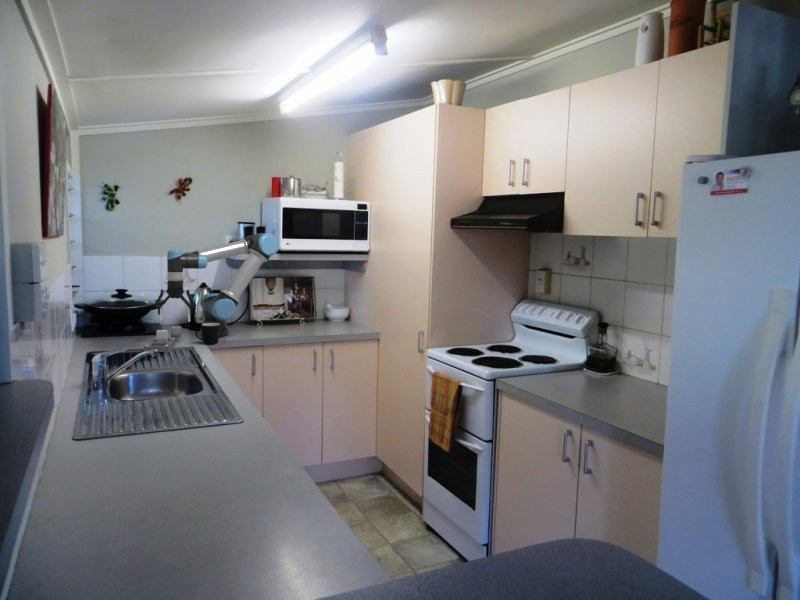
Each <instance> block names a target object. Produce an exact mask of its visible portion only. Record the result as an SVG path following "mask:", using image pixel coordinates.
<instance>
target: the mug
mask: <svg viewBox="0 0 800 600" xmlns="http://www.w3.org/2000/svg"><path fill="white" fill-rule="evenodd" d="M199 330H200V331H201V330H202V335H201V336H202V337H199V336H198V332H199ZM219 332H220V324H218V323H204V324H203V323H202V324H201V326H200V327H198V328H197V329H196V331H195V337H196V338H197V339H199V340H201V341H202V342H203V344H204V345H207V346H208V345H209V346H211V345H213V346H214V345H217V344H218V343H219V338H220V336H219Z"/></svg>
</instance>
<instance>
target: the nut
mask: <svg viewBox="0 0 800 600" xmlns="http://www.w3.org/2000/svg"><path fill="white" fill-rule="evenodd" d="M172 338H174V339H176V344H181V343H182V342H183V330H182V326H181V325H180V326H178V325H177V326H176V325H175V326H174V325H173V326H171V327H170V339H172Z"/></svg>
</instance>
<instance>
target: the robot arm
mask: <svg viewBox="0 0 800 600" xmlns="http://www.w3.org/2000/svg"><path fill="white" fill-rule="evenodd" d="M279 248H280V243H279V240H278V238H277V236H275V235H274V234H272V233H267V232H266V233H265V232H264V233H263V232H258V233H254V234H252V235H248V236H245V237H242V238H241V239H240V240H237V241H232V242H227V243H224V244H223V243H222V244H220V245H219V244H218V245H215V246H211V247H207V248H204V249H198V250H195V251H190V252H189V251H187V252H184V251H183V250H182V249H169V250H167V256H166V260H167V262H166V263H167V269H166V270H167V272H166V273H167V274H166V275H167V277H166V278H167V283H166V284H167V289H164V288H162V289H160V294H159V296H158V297H157V299H156V301H155V303H154V305H153V307H154V308H156V309H157V315H159V321H160V322H163V320H164V319H163V316H164V315H163V313H164V312H163V306H164V305H165V304H166V303H167V302H168V301H169V299H180V300H182V301H183V302H184V304H185V305H186V306H187V307H188V308H187V309H188V310H187V322H188V323H189V322H191V316H193V314H194V312H193V311H194V310H193V309H195V308H197V304H196V303H195V301H194V299H193V297H192V295H191V291H190V289H186V290H185V289H184V280H183V279H184V270H185V269H195V270H196V269H198V270H199V269H200V270H202V269H207V266H208V263H211V262H214V261H219V260H224V259H226V258H232V257H235V256H236V257H237V256H239V255H242V254H243V255H246V256H247V255H248V256H247V257H246V258H245V259H244V261H243V263H242V264H241V266H240V267H239V268H238V270H237V271H236V273H235V274H234V276H233V277H232V279H231V280H230V282H229V283H228V284H227V286H226V287H225V288H224V289H223V290H222V289H221V290H220V291H219V293H205V294H204V295H203V298H202V301H203V322H202V324H204V323H218V324H220V332H219V337H225V336H228V335H230V330H229V327H228V324H227V321H229V320H231V319H232V318H233V317H234V316H235V314H236V311H237V307H238V304H239V303H240V297H241V296H242V294H243V292H245V290H246V289H247V287H248V285H249V284H250V283H251V280H252V279H253V278H254V276H255V275H256V273H257V272H258V271H259V269H260V268H261V267H262V265H263V263H265V262H268V261H269V259H270V258H271V257H272V256H273V255H275V254H276V253H278V251H279ZM165 294H167V296H166V297H165V298H164V299H163V300H162V302H161V299H162V298H163V296H164V295H165ZM184 294H185V295H187V296H186V297H188V300H189V301H190V302H189V301H188V300H187V298H185V296H184ZM160 302H161V303H160ZM200 335H201V336H202V330H201V329H200Z"/></svg>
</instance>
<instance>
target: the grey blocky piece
mask: <svg viewBox="0 0 800 600" xmlns="http://www.w3.org/2000/svg"><path fill="white" fill-rule="evenodd" d="M155 334H156V336H155V337H154V338H152V339H151V340H150V341H148V343H146V344H145V345H144V347H143V351H144V350H149V349H158V350H160V352H166V353H165V354H167V353H168V354H170V352H171V351H172V350H173V348H174V347H176V345H177V343H176V339H174V338H172V339H171V338H169V331H168V329H157V330H156V333H155ZM171 349H172V350H171ZM170 350H171V351H170Z"/></svg>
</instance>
